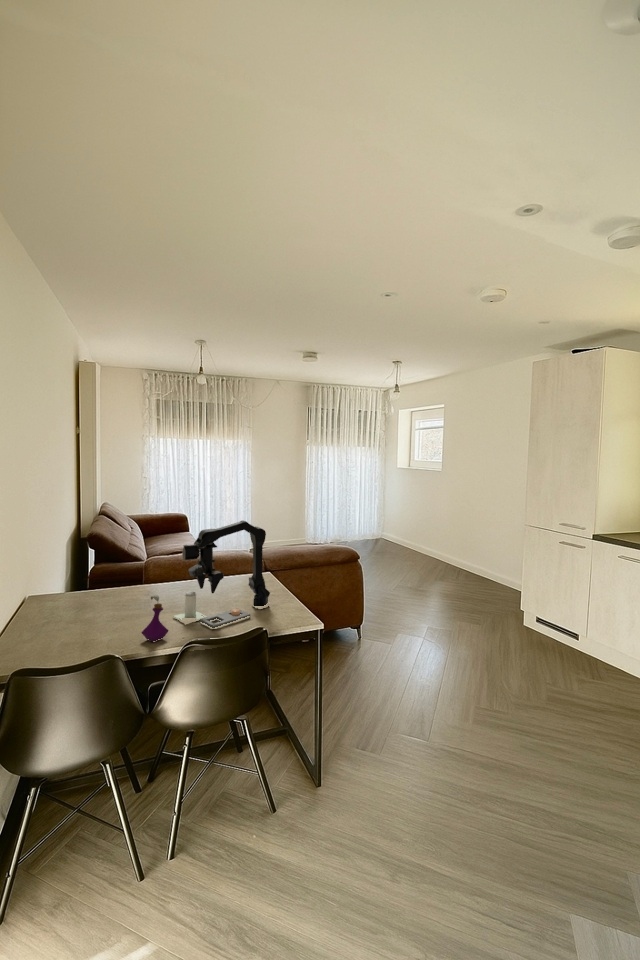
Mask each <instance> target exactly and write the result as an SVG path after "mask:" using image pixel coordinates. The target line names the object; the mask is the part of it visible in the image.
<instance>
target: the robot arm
mask: <svg viewBox="0 0 640 960" xmlns="http://www.w3.org/2000/svg"><path fill="white" fill-rule="evenodd" d="M242 531H245V532H247V533H248V534H249V536H250V541H251V543H252V575H251V577H248V587H249V589H250V590H251V591H252V592H253V594H254V595H253V596H254V597H253V604H252V605H254V606H264V605H266V604H267V603H268V602H269V597H270V594H271V592H270V591H269V590H268V589H267V588H266V581H265V579H264V576H263V547H264V543H265V541H266V536H267V533H266V531H265V530H264V529H263V528H262V527H259V526H254V525H253V524H250V523H249V522H248V521H246V520H243V519H242V520H240V521H238V522H235V523H231V524H228V525H225V526H221V527H218V528H209V529H207V528H206V529H202V530H200V531H199V533H198V536H197V538H196V540H194V542H193V544H184V545H183V549H182V550H181V551H182V553H181V555H182V560H183V561H184V562H185V561H193V560H197V564H195V565H193V566H191V567H190V568H188V573H189V576H190V577H192V578H196V580H197V583H198V586H199V589H203V588H204V586H205V581H206V576H207V579H208V580H207V581H208V582H209V583H210V584H209V585H210V590H211V591H210V592H211V594H214V593H215V592H216V590H217V588H218V586H219V584H220V582H221V580H223V579H225V577H224V575H225V574H224V572H221V571H219V570H216V567H214V563H215V562H216V559H214V555H213V554H214V553H213V552H214V548H215V549H217V548H218V545H216V543H215V542H216V541H218V540H219V539H220V538H222V537H226V536H229V535H232V534H235V533H238V532H242ZM198 558H199V559H198ZM268 604H269V603H268Z"/></svg>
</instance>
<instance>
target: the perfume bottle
mask: <svg viewBox="0 0 640 960" xmlns="http://www.w3.org/2000/svg"><path fill="white" fill-rule="evenodd" d="M150 600H155V601H156V602H158V603H155V604H154V607H153V608H152V611H153V612H154V614H153V617H152V619H151V621H150V622H149V624H148V625H147V626H146V627H145V628H144V629H143V630H142V631H141V634H142V635H143V636H144V637H145V638H146V640H147V639H149V640H152V641H156V640H158V639H161V638H163V637H165V636H166V635H167V634H168V632H169V629H168V628H166V626H165V625H163V623H162V622H161V621H160V614H161V612H162V611H163V610H164V607H163V604H162V603H159V600H160V596H159V594H154V595H151V596H150ZM163 639H164V638H163ZM149 640H148V641H149ZM161 640H162V639H161ZM152 641H151V642H152Z"/></svg>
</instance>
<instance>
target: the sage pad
mask: <svg viewBox="0 0 640 960" xmlns="http://www.w3.org/2000/svg"><path fill="white" fill-rule="evenodd" d="M201 615H203V616H204V617H208V616H207V615H206V614H203V613H201V612H199V611H197V610H196V617H194V618H196V619H201V618H204V617H203V616H201ZM173 617H175V618H177V619H179V618H180V619H181V620H182V618H185V612H183V613H179V614H175V615H172V618H173ZM196 619H195V620H196Z"/></svg>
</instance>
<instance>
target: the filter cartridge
mask: <svg viewBox="0 0 640 960" xmlns="http://www.w3.org/2000/svg"><path fill="white" fill-rule="evenodd" d="M196 611H197V594H196V591H187V592H185V594H184V613H185V618H194V617H196Z"/></svg>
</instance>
